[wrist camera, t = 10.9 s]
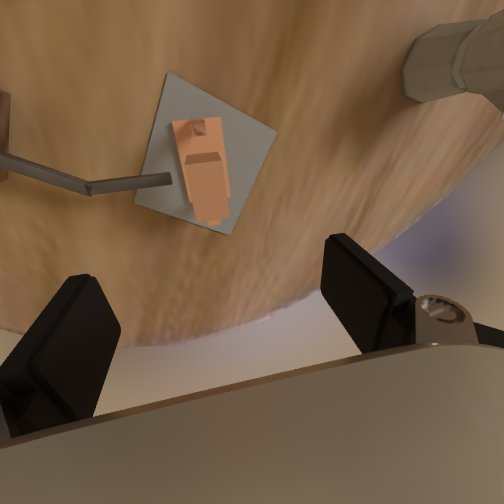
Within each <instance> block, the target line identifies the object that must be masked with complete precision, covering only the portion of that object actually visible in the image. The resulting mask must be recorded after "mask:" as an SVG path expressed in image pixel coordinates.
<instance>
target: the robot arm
mask: <svg viewBox="0 0 504 504" xmlns="http://www.w3.org/2000/svg"><path fill="white" fill-rule="evenodd" d="M320 289H321V293H322V295H323V297H324V298H325V300H326V301H327V303H328V304H329V306H330V307H331V309H332V310H333V311H334V313H335V314H336V316H337V317H338V319H339V320H340V322H341V323H342V325H343V326H344V327H345V329H346V330H347V332H348V334H349V335H350V336H351V338H352V339H353V341H354V342H355V344H356V345H357V347H358V348H359V350H360V351H361V353H362V354H361V355H356V356H352V357H348V358H343V359H339V360H335V361H330V362H325V363H321V364H317V365H312V366H308V367H303V368H299V369H295V370H291V371H286V372H282V373H278V374H273V375H269V376H265V377H260V378H256V379H251V380H247V381H243V382H238V383H234V384H230V385H225V386H221V387H217V388H213V389H208V390H204V391H200V392H195V393H191V394H187V395H183V396H179V397H175V398H170V399H166V400H162V401H158V402H154V403H149V404H145V405H141V406H137V407H132V408H128V409H125V410H120V411H116V412H111V413H108V414H103V415H99V416H95V417H93V414H94V411H95V408H96V405H97V402H98V399H99V396H100V393H101V390H102V387H103V384H104V381H105V379H106V375H107V373H108V370H109V367H110V364H111V361H112V358H113V355H114V352H115V349H116V346H117V343H118V340H119V337H120V334H121V327H120V324H119V322H118V320H117V318H116V316H115V314H114V312H113V310H112V308H111V306H110V304H109V302H108V301H107V299H106V297H105V295H104V293H103V291H102V289H101V287H100V285H99V283H98V281H97V279H96V278H95V277H91V276H90V275H89V274H81V275H75V276H70V277H68V278H67V280H66V281H65V282H64V284H63V285H62V286H61V288H60V289H59V290H58V292H57V293H56V294H55V295H54V297H53V298H52V299H51V301H50V302H49V303H48V305H47V306H46V307H45V309H44V310H43V311H42V312H41V314H40V315H39V316H38V318H37V319H36V320H35V322H34V323H33V324H32V326H31V327H30V328H29V330H28V331H27V332H26V333H25V335H24V336H23V337H22V339H21V340H20V341H19V343H18V344H17V345H16V347H15V348H14V349H13V350H12V352H11V353H10V354H9V356H8V357H7V358H6V360H5V361H4V362H3V364H2V365H1V366H0V504H504V331H502V330H499V329H495V328H492V327H489V326H485V325H482V324H479V323H475V322H473V320H472V317H471V315H470V313H469V312H468V311H467V310H466V309H465V308H464V307H463V306H462V305H460V304H459V303H457V302H455V301H453V300H451V299H449V298H446V297H442V296H438V295H424V296H420V297H419V298H418V299H417V298H416V297H415V296H413V292H414V291H413V290H412V289H411V288H410V287H409V286H407V285H406V284H405V283H404V282H403V281H402V280H400V279H399V278H398V277H397V276H395V275H394V274H393V273H392V272H391V271H389V270H388V269H387V268H386V267H384V266H383V265H382V264H381V263H380V262H379V261H377V260H376V259H375V258H374V257H373V256H371V255H370V254H369V253H368V252H367V251H365V250H364V249H363V248H362V247H361V246H359V245H358V244H357V243H356V242H355V241H353V240H352V239H351V238H350V237H349V236H347V235H346V234H345V233H339V234H332V235H330V236H329V238H328V239H326V240H325V247H324V257H323V267H322V277H321V287H320Z"/></svg>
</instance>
